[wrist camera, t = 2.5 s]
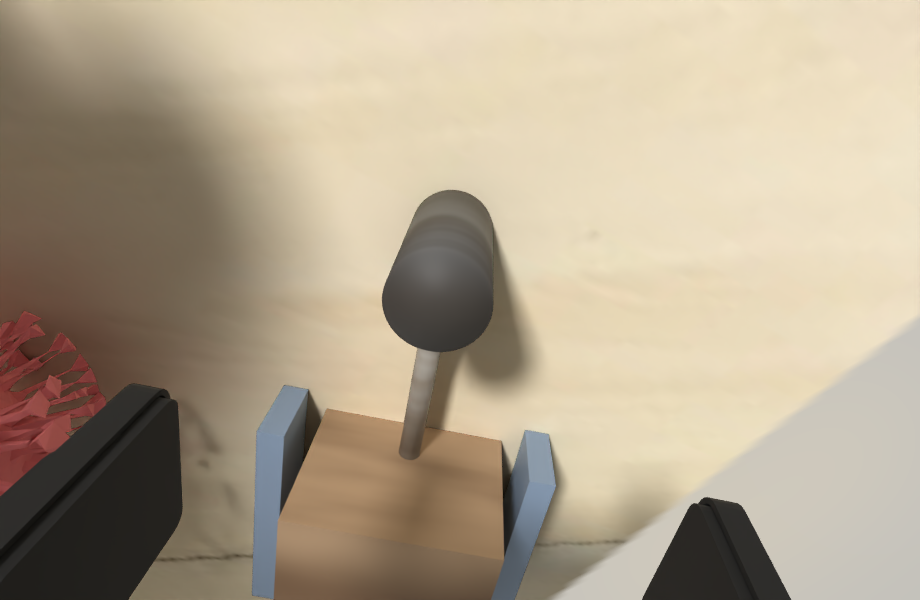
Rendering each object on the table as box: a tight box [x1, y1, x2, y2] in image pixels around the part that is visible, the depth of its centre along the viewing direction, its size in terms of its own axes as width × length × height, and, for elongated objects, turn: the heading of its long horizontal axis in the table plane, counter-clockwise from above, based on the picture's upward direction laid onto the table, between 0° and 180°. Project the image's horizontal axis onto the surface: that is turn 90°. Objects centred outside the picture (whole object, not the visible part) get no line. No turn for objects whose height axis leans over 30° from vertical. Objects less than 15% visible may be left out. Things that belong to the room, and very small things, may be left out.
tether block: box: [274, 190, 504, 600], centre depth 23 cm, size 20×9×7 cm, turn 169°
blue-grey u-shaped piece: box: [252, 385, 556, 600], centre depth 28 cm, size 11×13×4 cm
